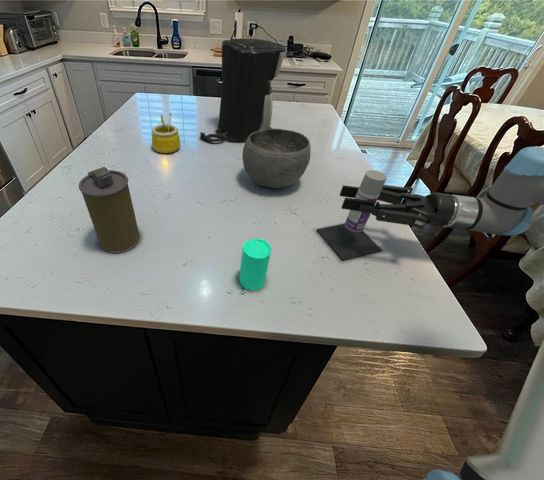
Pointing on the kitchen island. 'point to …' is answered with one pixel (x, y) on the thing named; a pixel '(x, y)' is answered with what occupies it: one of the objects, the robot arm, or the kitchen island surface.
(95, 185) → the canister
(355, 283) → the kitchen island surface
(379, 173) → the container
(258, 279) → the candle
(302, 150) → the bowl
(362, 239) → the mat
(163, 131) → the mug
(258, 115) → the coffee maker
